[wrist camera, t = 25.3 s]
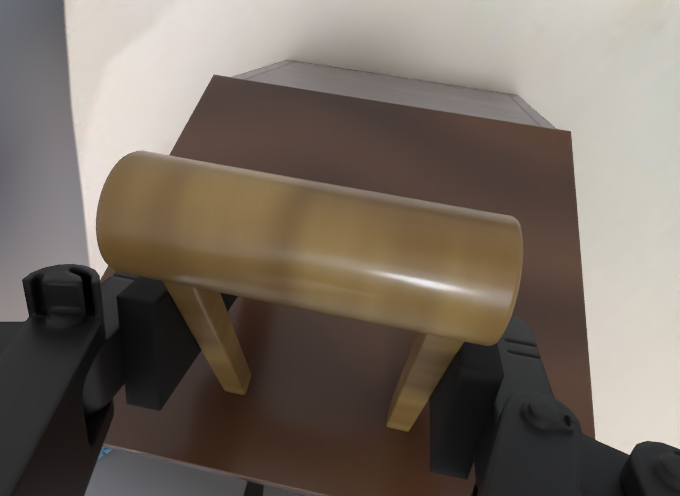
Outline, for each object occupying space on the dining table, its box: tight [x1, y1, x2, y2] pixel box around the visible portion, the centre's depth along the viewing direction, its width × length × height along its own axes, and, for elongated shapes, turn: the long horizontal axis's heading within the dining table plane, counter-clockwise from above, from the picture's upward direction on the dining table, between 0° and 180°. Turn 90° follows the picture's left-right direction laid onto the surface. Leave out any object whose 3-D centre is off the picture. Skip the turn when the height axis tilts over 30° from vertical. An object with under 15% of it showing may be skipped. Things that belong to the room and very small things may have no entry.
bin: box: [232, 60, 556, 129], centre depth 32 cm, size 16×17×13 cm
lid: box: [96, 75, 595, 496], centre depth 14 cm, size 16×17×10 cm
